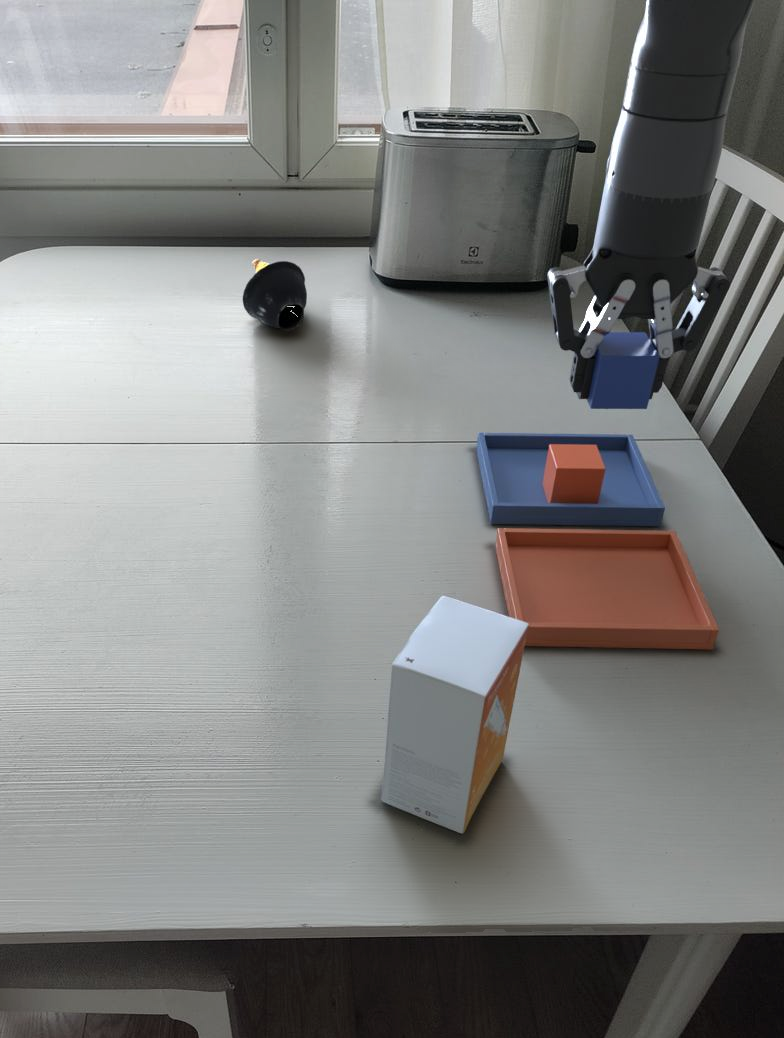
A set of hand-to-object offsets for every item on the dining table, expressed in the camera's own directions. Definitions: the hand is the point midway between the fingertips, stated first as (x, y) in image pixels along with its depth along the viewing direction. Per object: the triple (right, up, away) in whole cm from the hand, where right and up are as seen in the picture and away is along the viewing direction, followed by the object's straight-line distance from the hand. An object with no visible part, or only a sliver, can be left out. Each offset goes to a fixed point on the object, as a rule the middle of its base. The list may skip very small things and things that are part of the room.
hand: (613, 394), depth 83 cm
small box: (-16, -31, -12) cm, 37 cm away
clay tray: (0, -17, +4) cm, 17 cm away
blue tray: (0, -5, +18) cm, 19 cm away
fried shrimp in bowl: (-30, +24, +52) cm, 65 cm away
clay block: (0, -6, +15) cm, 16 cm away
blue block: (0, 0, 0) cm, 0 cm away
